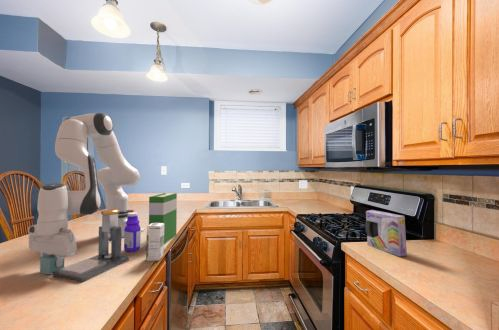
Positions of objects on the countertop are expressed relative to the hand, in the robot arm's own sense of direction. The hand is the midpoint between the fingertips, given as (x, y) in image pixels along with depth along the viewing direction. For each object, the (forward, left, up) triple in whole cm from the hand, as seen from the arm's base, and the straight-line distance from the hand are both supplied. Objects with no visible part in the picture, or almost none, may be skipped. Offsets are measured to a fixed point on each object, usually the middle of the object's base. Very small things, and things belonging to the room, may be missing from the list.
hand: (52, 264), depth 87 cm
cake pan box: (-64, +124, -2) cm, 139 cm away
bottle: (-27, +11, -2) cm, 29 cm away
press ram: (-14, +12, +6) cm, 19 cm away
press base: (-7, +12, -2) cm, 14 cm away
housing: (0, 0, -2) cm, 2 cm away
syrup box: (-22, +28, -2) cm, 36 cm away
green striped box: (-45, +14, -2) cm, 48 cm away
